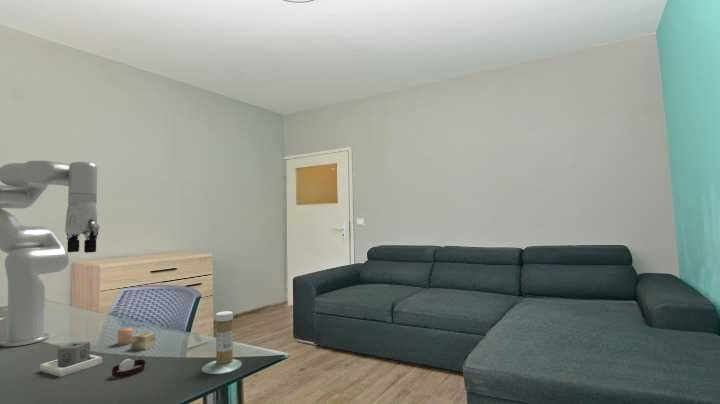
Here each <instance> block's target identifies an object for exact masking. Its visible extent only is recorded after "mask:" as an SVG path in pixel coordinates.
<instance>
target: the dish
mask: <svg viewBox="0 0 720 404" xmlns="http://www.w3.org/2000/svg"><path fill="white" fill-rule="evenodd" d="M102 364H103V357H102V356H99V355H94V354H91V353H90V360H87V361H84V362H81V363H78V364H74V365H71V366H68V367H58V358H57V359H55V360H51V361H47V362H44V363H40V370H39V371H40V372H42V373H44V374H45V373H46V374H49V375H51V376H52V375H53V376H55V377H58V378H62V377H63V378H64V377H65V376H68V375H71V374H74V373H77V372H81V371H84V370H86V369H90V368H94V367H95V366H99V365H102Z"/></svg>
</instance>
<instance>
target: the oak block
mask: <svg viewBox="0 0 720 404" xmlns="http://www.w3.org/2000/svg"><path fill="white" fill-rule="evenodd" d="M155 343H156V333H154V332H140V333H137V334H133V336H132V343H131V346H130V347H131V350H141V349H146V350H148V349H150V348H152V346H153V347H154V345H155V346H156V344H155ZM147 348H148V349H147Z"/></svg>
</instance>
